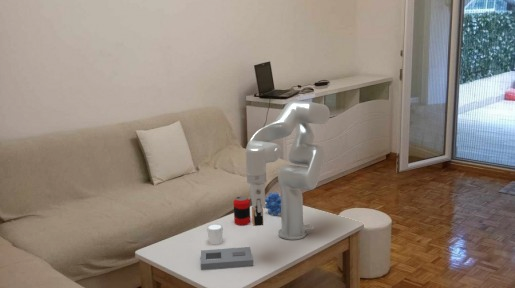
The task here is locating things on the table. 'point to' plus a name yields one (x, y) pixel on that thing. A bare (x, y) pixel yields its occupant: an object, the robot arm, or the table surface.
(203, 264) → the socket plate
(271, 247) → the table surface
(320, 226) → the table surface
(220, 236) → the white short cylinder
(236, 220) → the soda can
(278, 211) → the grapes
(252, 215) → the block
